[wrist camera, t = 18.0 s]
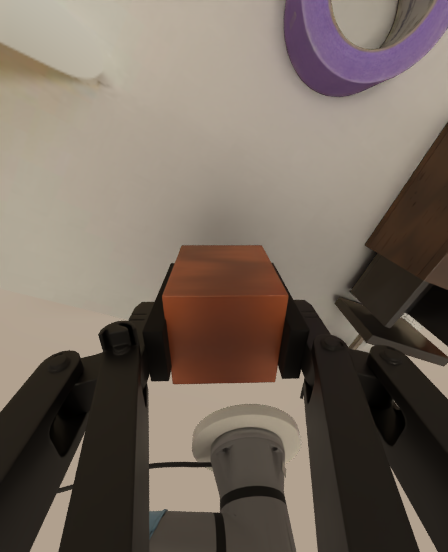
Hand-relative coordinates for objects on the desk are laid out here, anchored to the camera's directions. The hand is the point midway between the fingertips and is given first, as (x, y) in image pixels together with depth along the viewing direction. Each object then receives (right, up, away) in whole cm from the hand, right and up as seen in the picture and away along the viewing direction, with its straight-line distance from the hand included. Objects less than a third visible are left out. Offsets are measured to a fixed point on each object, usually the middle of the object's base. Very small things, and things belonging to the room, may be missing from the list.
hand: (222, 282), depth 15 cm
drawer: (+22, -3, +17) cm, 28 cm away
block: (0, 0, 0) cm, 0 cm away
